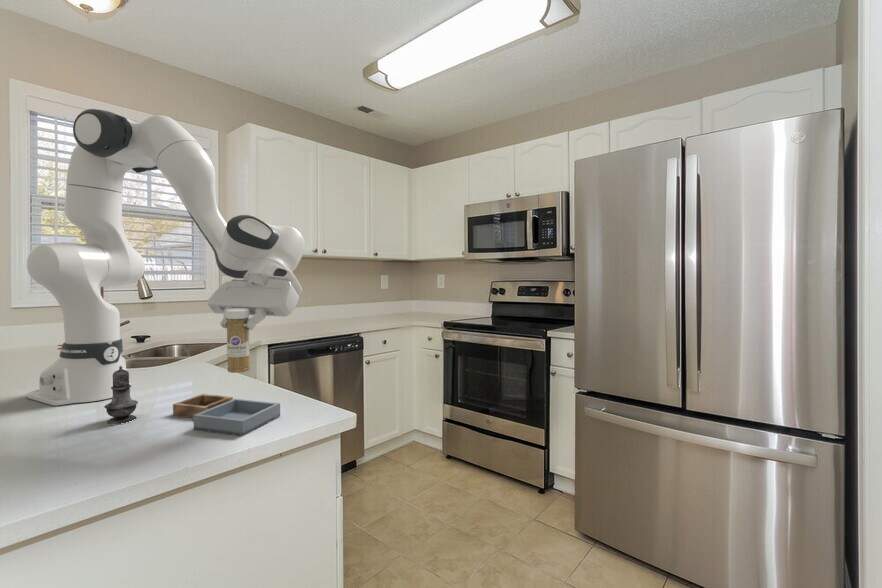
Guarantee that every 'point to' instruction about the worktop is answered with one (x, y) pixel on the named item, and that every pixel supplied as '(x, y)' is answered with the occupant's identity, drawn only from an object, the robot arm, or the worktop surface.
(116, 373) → the salt shaker
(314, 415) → the worktop surface
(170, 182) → the robot arm
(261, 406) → the slate tray
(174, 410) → the walnut collar
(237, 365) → the sprinkles bottle
